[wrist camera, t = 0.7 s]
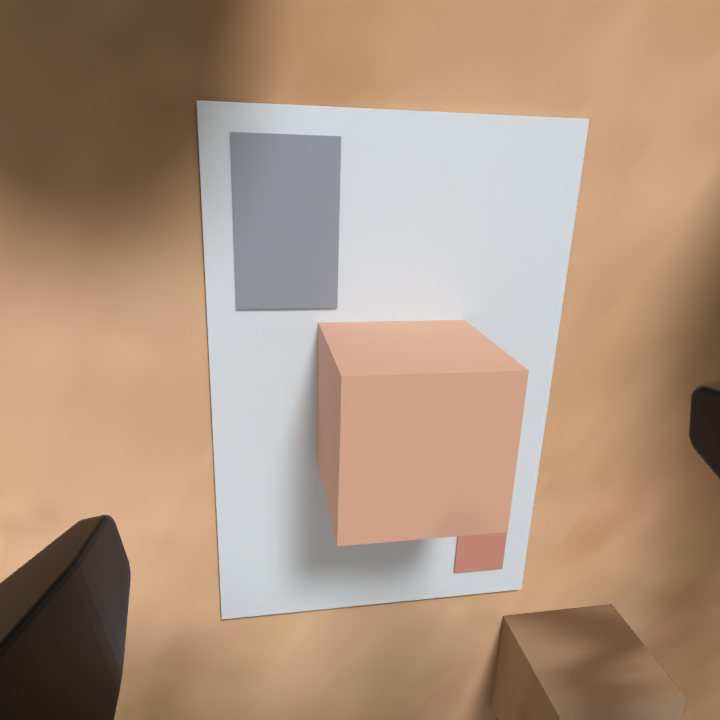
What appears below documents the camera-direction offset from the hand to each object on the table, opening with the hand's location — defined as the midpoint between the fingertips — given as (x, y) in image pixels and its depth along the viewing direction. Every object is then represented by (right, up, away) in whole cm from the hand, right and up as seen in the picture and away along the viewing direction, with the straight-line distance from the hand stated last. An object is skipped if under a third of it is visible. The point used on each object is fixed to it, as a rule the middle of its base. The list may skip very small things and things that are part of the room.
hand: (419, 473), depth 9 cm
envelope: (0, +1, +12) cm, 12 cm away
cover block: (0, +1, +12) cm, 12 cm away
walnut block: (+7, -11, +18) cm, 22 cm away
